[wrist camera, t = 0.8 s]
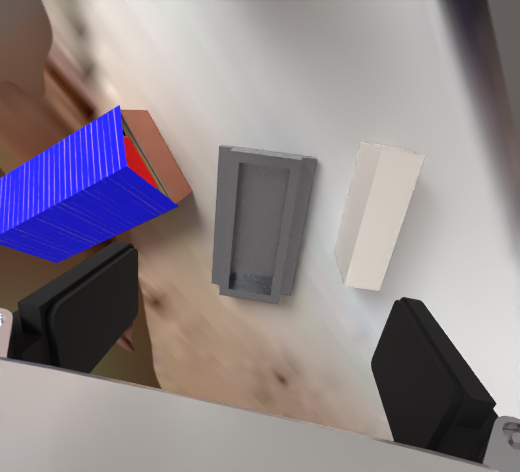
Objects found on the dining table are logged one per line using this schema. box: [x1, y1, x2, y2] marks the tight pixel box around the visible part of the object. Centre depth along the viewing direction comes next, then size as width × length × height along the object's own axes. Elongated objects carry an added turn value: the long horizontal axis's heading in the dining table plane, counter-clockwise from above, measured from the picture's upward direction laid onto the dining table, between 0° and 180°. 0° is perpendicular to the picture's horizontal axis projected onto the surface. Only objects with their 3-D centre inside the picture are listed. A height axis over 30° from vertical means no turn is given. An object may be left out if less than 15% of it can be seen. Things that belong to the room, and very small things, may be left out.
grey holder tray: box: [212, 145, 317, 304], centre depth 38 cm, size 20×12×4 cm, turn 173°
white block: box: [334, 142, 425, 291], centre depth 34 cm, size 15×4×9 cm, turn 173°
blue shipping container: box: [0, 105, 192, 263], centre depth 35 cm, size 12×20×12 cm, turn 115°
